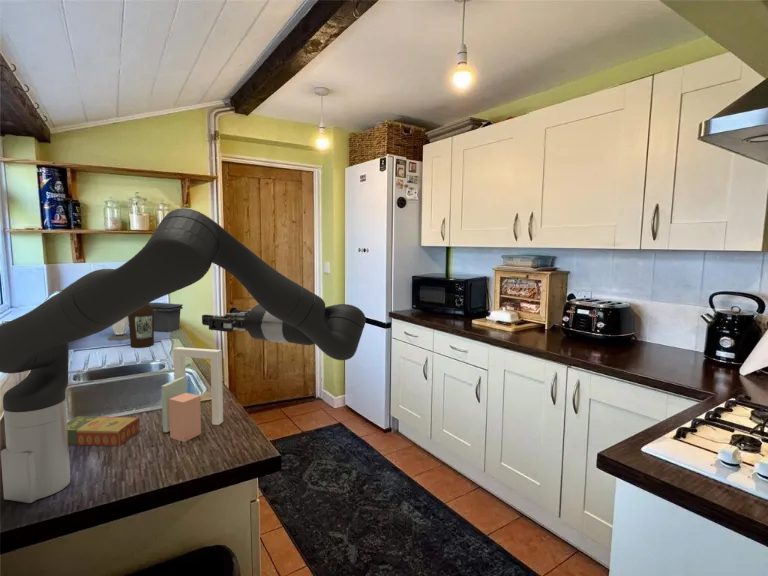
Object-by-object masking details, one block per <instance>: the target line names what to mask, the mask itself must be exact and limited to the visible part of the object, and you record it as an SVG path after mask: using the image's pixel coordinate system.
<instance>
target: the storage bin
mask: <svg viewBox="0 0 768 576" xmlns="http://www.w3.org/2000/svg"><path fill="white" fill-rule="evenodd" d="M148 304H149V305H150V306H151V307H152V308H153V310H154V332H162V331H167V332H166V333H171V332H174V331H173V330H175V331H178V330H179V329H180V324H181V323H180V321H181V310H183V308H184V307H183V306H184V304H183V303H182V304H181V303H166V302H150V303H148ZM177 329H178V330H177ZM170 331H171V332H170Z"/></svg>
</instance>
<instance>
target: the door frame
mask: <svg viewBox="0 0 768 576" xmlns="http://www.w3.org/2000/svg"><path fill="white" fill-rule="evenodd" d="M172 351H173V377H174V379H173V380H175V379H178V378H180V377H182V376H184V377H186V378H187V376H186V375H187V374H186V358H197V359H209V360H210V386H211V387H210V389H211V391H210V394H211V425H214V426H215V425H216V426H220V425H221V424H222V423H223V422H224V406H223V405H224V402H223V401H224V399H223V366H222V365H223V360H222V359H223V355H222V354H223V353H222V349H212V348H196V347H184V346H183V347H182V346H179V347H178V346H177V347H175V348H173V350H172Z"/></svg>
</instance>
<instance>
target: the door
mask: <svg viewBox="0 0 768 576" xmlns="http://www.w3.org/2000/svg"><path fill="white" fill-rule="evenodd" d="M187 388H188V387H187V376H186V377H184V376H182V377H180V378H178V379H175V380H174V379H172V380H171V381H169V382H166V383H165V384H162V385H161V412H162V414H161V416H162V432H164V433H168V432H170V414H169V399H170V398H173V397H176V396H178V395H181V394H184V393H188V391H187V390H188V389H187Z"/></svg>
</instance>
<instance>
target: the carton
mask: <svg viewBox="0 0 768 576" xmlns="http://www.w3.org/2000/svg"><path fill="white" fill-rule="evenodd" d="M140 425H141V424H140V417H137V416H136V417H135V416H128V417H127V416H95V415H94V416H92V415H91V416H88V415H86V416H84V415H78V416H76V417H75V418H73V419H71V420H69V421H67V431H68V445H71V446H72V445H74V446H75V445H77V446H101V447H102V446H105V447H106V446H108V447H120V446H122V445H123V444H124V443H127V441H128V440H130V439H131V438H133V437H134V436H136V435H137V434H139V432H140V430H141V427H140Z"/></svg>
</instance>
